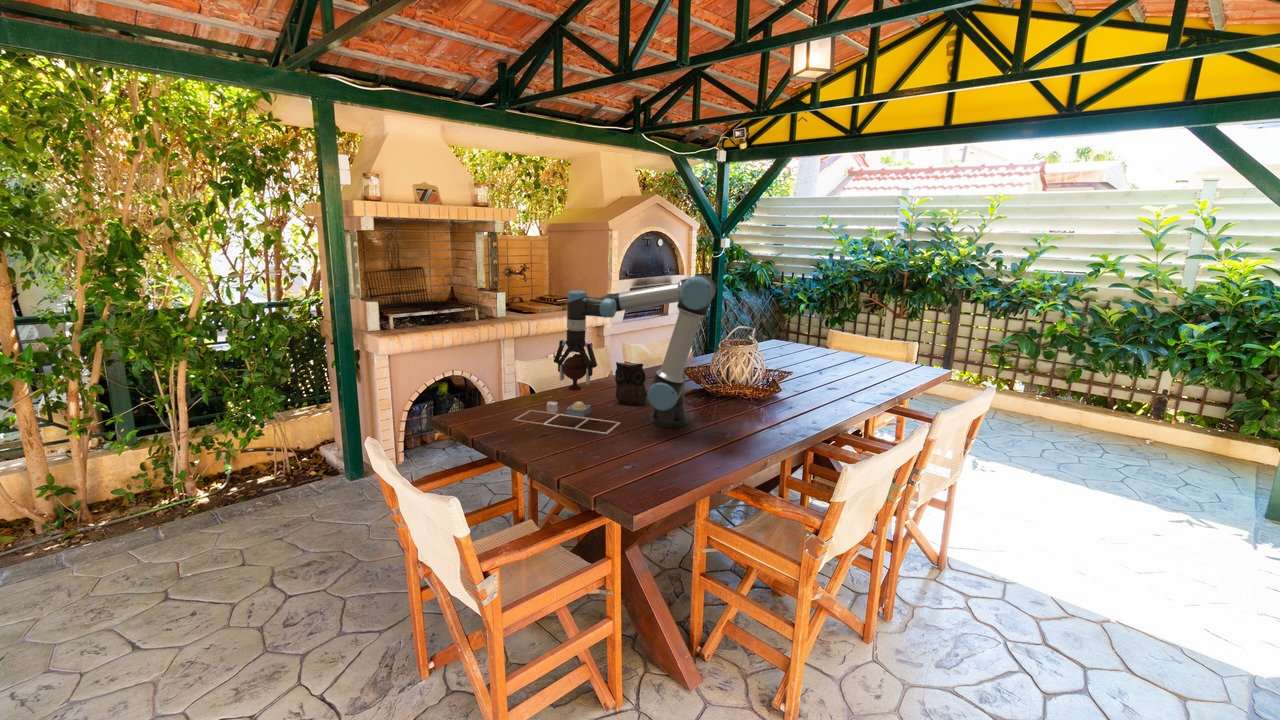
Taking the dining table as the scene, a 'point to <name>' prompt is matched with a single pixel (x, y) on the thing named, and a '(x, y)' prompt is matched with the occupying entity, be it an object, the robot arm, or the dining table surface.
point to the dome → (579, 405)
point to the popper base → (578, 411)
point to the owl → (630, 384)
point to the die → (552, 407)
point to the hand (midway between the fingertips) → (574, 381)
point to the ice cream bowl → (574, 370)
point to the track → (567, 427)
